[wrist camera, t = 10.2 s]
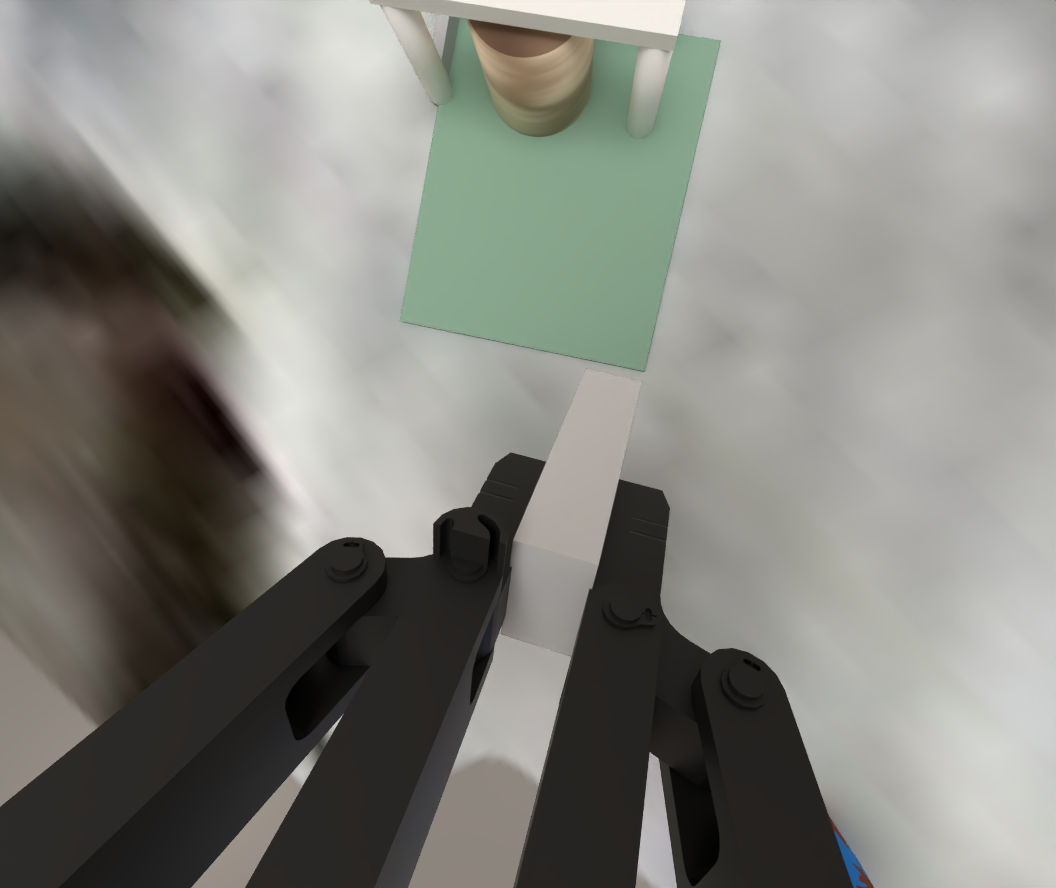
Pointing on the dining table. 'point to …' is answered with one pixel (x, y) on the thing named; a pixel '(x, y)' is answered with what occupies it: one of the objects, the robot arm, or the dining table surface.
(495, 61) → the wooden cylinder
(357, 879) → the robot arm
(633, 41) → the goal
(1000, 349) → the dining table surface
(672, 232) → the pitch
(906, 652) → the dining table surface
